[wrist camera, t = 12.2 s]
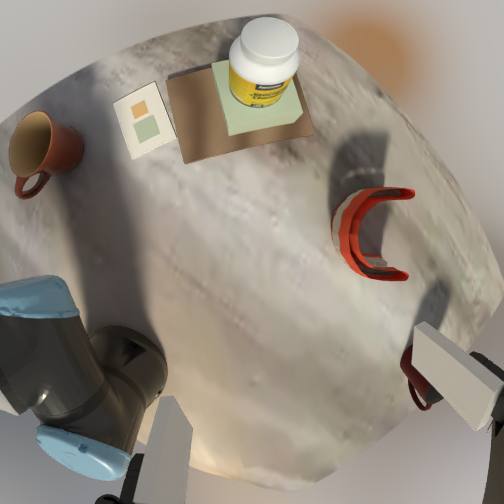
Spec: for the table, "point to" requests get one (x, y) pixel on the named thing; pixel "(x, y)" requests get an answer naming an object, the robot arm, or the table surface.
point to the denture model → (348, 228)
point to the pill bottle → (263, 62)
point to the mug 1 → (42, 151)
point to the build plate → (219, 119)
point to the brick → (253, 118)
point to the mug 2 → (418, 382)
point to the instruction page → (144, 120)
